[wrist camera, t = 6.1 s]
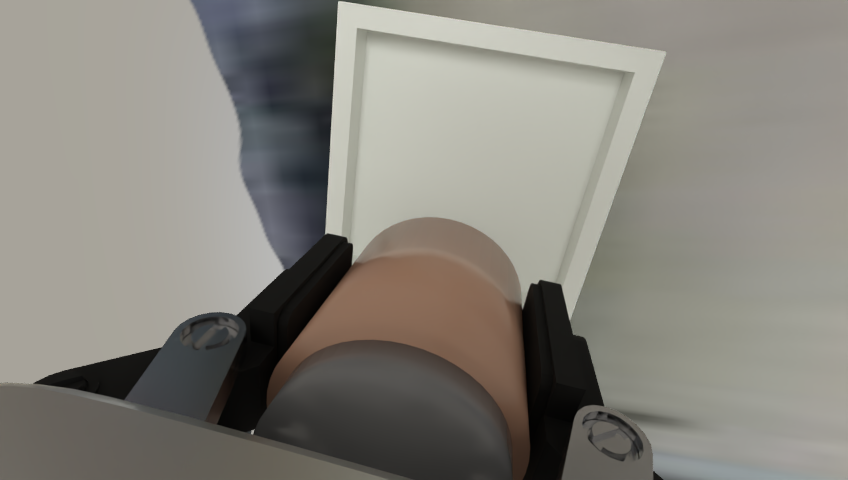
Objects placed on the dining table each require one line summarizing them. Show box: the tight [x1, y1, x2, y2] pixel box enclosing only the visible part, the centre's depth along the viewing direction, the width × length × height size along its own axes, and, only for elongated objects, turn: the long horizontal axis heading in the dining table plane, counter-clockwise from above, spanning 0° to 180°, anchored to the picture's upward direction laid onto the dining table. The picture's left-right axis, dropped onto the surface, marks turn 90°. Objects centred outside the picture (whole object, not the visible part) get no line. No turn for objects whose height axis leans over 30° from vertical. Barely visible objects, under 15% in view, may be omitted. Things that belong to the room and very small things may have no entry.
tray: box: [325, 1, 666, 320], centre depth 27 cm, size 18×18×3 cm
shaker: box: [253, 217, 530, 480], centre depth 9 cm, size 5×5×6 cm
